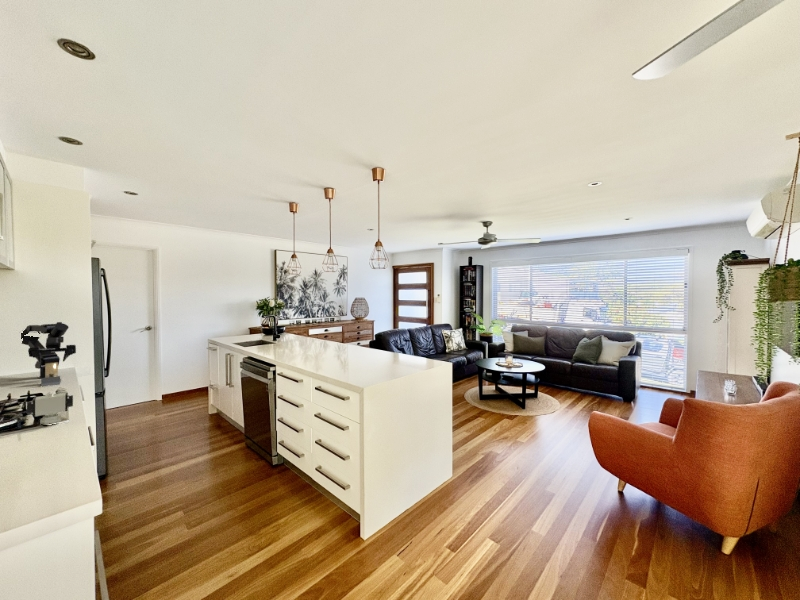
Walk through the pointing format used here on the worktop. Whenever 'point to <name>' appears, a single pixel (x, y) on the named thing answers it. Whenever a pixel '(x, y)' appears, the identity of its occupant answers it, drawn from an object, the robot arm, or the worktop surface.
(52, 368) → the ball
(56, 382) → the press bed
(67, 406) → the pneumatic valve
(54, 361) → the robot arm
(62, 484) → the worktop surface
